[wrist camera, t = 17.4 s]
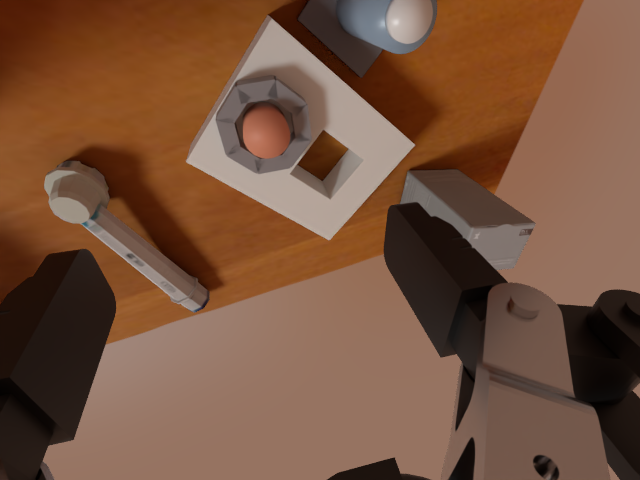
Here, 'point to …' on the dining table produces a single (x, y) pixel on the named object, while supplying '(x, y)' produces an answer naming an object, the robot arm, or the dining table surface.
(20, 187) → the dining table surface
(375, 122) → the housing
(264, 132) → the brown egg
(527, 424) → the robot arm
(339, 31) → the mat
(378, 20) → the cartridge
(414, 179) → the skincare box
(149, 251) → the grey elongated piece
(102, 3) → the dining table surface
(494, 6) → the dining table surface
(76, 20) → the dining table surface
